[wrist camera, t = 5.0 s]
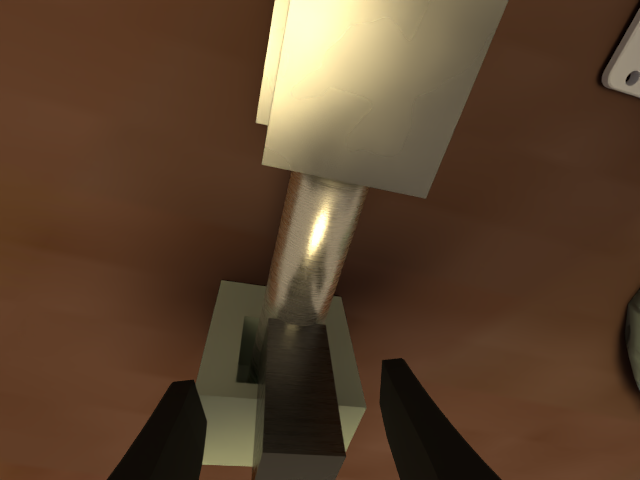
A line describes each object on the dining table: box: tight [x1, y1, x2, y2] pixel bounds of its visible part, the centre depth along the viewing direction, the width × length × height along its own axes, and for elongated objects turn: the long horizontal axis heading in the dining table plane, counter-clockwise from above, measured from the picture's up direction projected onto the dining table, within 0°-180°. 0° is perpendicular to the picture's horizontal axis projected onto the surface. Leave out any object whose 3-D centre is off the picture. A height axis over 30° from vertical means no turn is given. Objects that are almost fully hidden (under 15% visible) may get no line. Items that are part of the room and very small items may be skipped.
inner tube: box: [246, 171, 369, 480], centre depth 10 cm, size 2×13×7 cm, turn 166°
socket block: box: [196, 280, 366, 466], centre depth 16 cm, size 6×4×6 cm, turn 76°
